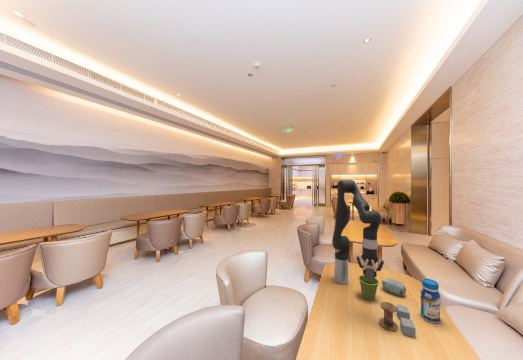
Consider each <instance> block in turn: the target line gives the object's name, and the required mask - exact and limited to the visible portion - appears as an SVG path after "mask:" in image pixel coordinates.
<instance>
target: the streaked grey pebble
mask: <svg viewBox="0 0 523 360" xmlns="http://www.w3.org/2000/svg"><path fill="white" fill-rule="evenodd" d="M381 287H382V288H383V289H384V290H385V291H386V292H388V293H391V294H394V295H396V296H398V297H399V296H401V297H403V296H405V295H406V294H407V289H406V286H405V284H404V283H403V282H401V281H400V280H397V279H394V278H388V277H385V278H382V280H381Z"/></svg>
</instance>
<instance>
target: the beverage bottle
mask: <svg viewBox="0 0 523 360" xmlns="http://www.w3.org/2000/svg"><path fill="white" fill-rule="evenodd" d="M421 282H422V283H421V285H422V287H421V289H420V294H419V299H420V316H421V318H422V319H424V320H425V321H427V322H430V323H432V324H433V323H434V324H439V323H440V322H441V303H442V301H441V294H440V292H439V287H440V285H439V282H437V281H436V280H434V279H431V278H422V280H421Z"/></svg>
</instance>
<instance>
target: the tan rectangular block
mask: <svg viewBox="0 0 523 360" xmlns="http://www.w3.org/2000/svg"><path fill="white" fill-rule="evenodd" d="M366 278H368V279H373V280H374V267H373V265H370V264H367V266H366Z"/></svg>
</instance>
